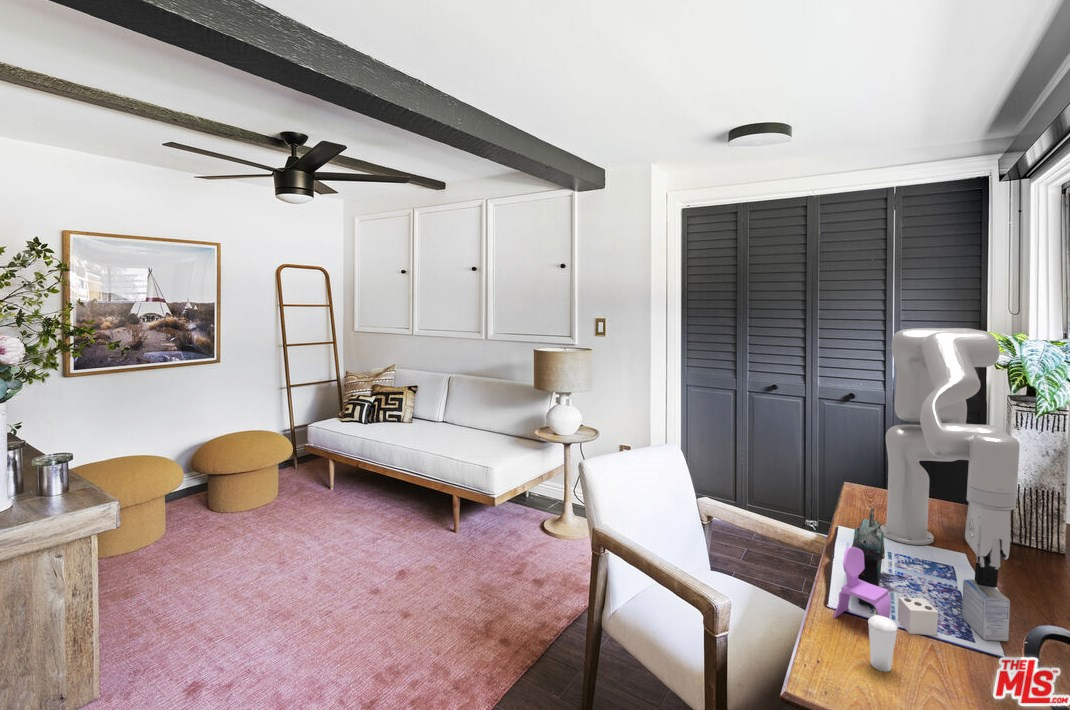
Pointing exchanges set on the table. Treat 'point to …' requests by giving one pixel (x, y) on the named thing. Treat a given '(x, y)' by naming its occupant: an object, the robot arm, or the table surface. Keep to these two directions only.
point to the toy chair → (861, 585)
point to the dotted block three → (917, 616)
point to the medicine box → (986, 611)
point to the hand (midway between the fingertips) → (985, 584)
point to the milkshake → (882, 642)
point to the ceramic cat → (870, 551)
